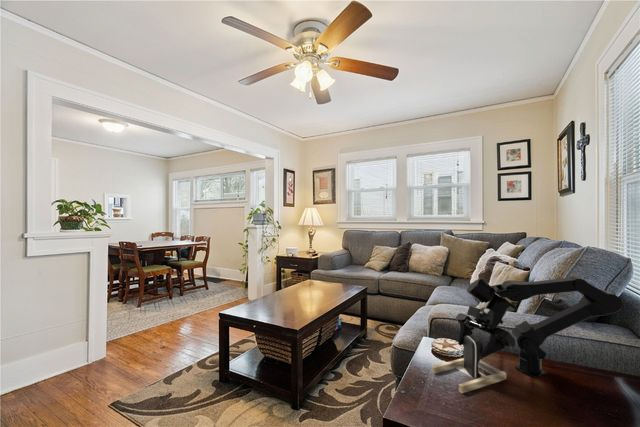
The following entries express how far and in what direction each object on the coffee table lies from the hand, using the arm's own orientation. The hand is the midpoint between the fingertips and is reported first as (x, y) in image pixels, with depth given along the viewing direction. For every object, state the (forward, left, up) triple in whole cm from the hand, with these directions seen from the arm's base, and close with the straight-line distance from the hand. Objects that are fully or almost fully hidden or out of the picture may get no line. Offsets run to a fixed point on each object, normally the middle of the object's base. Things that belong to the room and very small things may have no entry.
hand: (470, 350), depth 96 cm
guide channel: (+1, 0, -8) cm, 8 cm away
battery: (-2, 0, -8) cm, 8 cm away
